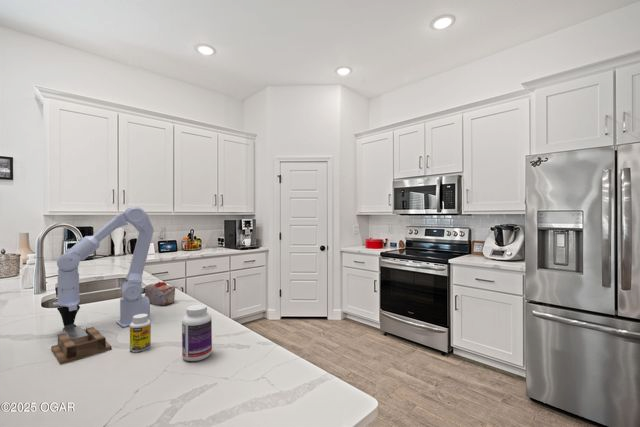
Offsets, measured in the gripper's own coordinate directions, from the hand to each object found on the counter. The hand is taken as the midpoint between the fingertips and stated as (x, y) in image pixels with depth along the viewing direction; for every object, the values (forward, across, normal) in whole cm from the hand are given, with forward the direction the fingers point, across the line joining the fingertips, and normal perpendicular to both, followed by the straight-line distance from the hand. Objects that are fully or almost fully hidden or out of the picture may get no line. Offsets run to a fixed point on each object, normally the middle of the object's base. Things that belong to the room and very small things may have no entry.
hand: (68, 327), depth 104 cm
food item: (+3, -13, +35) cm, 38 cm away
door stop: (+2, +9, 0) cm, 9 cm away
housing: (+2, +18, 0) cm, 18 cm away
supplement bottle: (+3, +31, +12) cm, 33 cm away
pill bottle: (+3, +49, +21) cm, 53 cm away
